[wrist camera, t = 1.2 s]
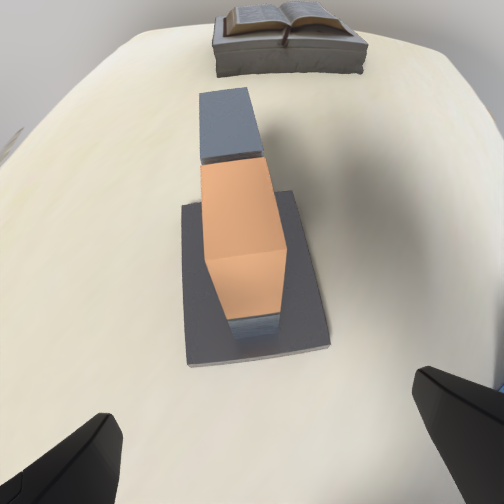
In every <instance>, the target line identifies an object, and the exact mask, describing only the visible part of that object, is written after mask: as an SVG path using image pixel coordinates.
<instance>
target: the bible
mask: <svg viewBox="0 0 504 504" xmlns="http://www.w3.org/2000/svg"><path fill="white" fill-rule="evenodd" d="M212 47H213V49H214V55H215V58H216V73H217V78H221V77H230V76H238V75H247V74H266V73H295V72H300V73H307V72H319V73H323V72H325V73H339V74H351V73H357V74H362V73H363V71H364V70H363V67H362V65H363V63H364V61H365V58H366V54H367V48H368V43H367V42H366V41H365V40H363V39H362V38H361V37H360V36H359V35H358V34H357V33H355V32H354V31H353V30H352V29H350V28H349V27H348V26H347V25H345V24H344V23H343V22H342V21H341V20H340V19H338V18H337V17H336V16H334V15H332V14H330V13H329V12H328V11H327V10H326V9H324V7H323V6H322V5H321V4H320V3H319V2H305V1H288V2H285V3H283V4H282V5H281V6H280V7H276V6H273V5H270V4H261V5H254V6H242V7H235V8H234V9H232V10H231V11H230V13H229V14H228V16H223V17H216V19H215V25H214V35H213V39H212Z"/></svg>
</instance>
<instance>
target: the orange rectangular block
mask: <svg viewBox="0 0 504 504" xmlns="http://www.w3.org/2000/svg"><path fill="white" fill-rule="evenodd" d="M200 170H201V198H202V220H203V239H204V256H205V262H206V265H207V268H208V271H209V273H210V276H211V279H212V281H213V284H214V287H215V289H216V292H217V295H218V297H219V300H220V303H221V305H222V308H223V310H224V313H225V316H226V318H227V321H232V320H239V319H247V318H254V317H261V316H268V315H275V314H280V310H281V301H282V292H283V283H284V274H285V264H286V254H287V247H286V242H285V238H284V233H283V229H282V225H281V220H280V216H279V212H278V207H277V203H276V199H275V195H274V191H273V186H272V182H271V178H270V174H269V170H268V166H267V162H266V158H265V157H261V158H252V159H244V160H237V161H229V162H222V163H215V164H208V165H202V166H200Z"/></svg>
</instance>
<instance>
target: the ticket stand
mask: <svg viewBox="0 0 504 504" xmlns="http://www.w3.org/2000/svg"><path fill="white" fill-rule="evenodd" d="M199 119H200V160H201V164H202V165H208V164H215V163H222V162H229V161H237V160H244V159H252V158H261V157H264V150H263V146H262V142H261V138H260V134H259V131H258V127H257V123H256V119H255V115H254V111H253V108H252V104H251V100H250V96H249V93H248V89H247V87H244V88H235V89H227V90H219V91H212V92H206V93H199ZM274 195H275V199H276V203H277V207H278V212H279V216H280V220H281V225H282V229H283V233H284V238H285V242H286V247H287V254H286V264H285V274H284V283H283V292H282V301H281V310H280V314H275V315H268V316H261V317H254V318H247V319H239V320H232V321H227V318H226V316H225V313H224V310H223V308H222V305H221V303H220V300H219V297H218V295H217V292H216V289H215V287H214V284H213V281H212V279H211V276H210V273H209V271H208V268H207V265H206V262H205V256H204V239H203V220H202V202H201V203H194V204H188V205H182V218H181V227H182V283H183V308H184V327H185V343H186V358H187V365H188V366H190V367H191V368H192V367H203V366H213V365H223V364H232V363H240V362H248V361H255V360H262V359H269V358H276V357H282V356H288V355H294V354H300V353H305V352H311V351H316V350H321V349H326V348H328V347H329V346H330V345H331V343H330V338H329V334H328V329H327V325H326V320H325V316H324V311H323V307H322V303H321V299H320V294H319V290H318V286H317V282H316V278H315V274H314V270H313V266H312V262H311V258H310V254H309V250H308V247H307V243H306V239H305V235H304V232H303V228H302V224H301V221H300V217H299V213H298V210H297V206H296V203H295V199H294V196H293V192H292V191H283V192H274Z"/></svg>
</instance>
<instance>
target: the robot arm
mask: <svg viewBox="0 0 504 504" xmlns="http://www.w3.org/2000/svg"><path fill="white" fill-rule="evenodd" d="M412 395H413V398H414V400H415V403H416V405H417V407H418V410H419V412H420V414H421V417H422V419H423V421H424V424H425V426H426V429H427V431H428V433H429V435H430V437H431V439H432V441H433V442H434V444H435V446H436V448H437V450H438V451H439V453H440V455H441V457H442V459H443V461H444V462H445V464H446V466H447V468H448V470H449V472H450V474H451V475H452V477H453V479H454V481H455V483H456V485H457V487H458V489H459V491H460V493H461V495H462V497H463V499H464V501H465V503H466V504H504V393H503V392H500V391H497V390H494V389H491V388H488V387H485V386H483V385H480V384H477V383H474V382H472V381H469V380H466V379H463V378H461V377H458V376H455V375H452V374H450V373H447V372H444V371H442V370H439V369H437V368H434V367H431V366H425V367H422V368H420V369H418V370H417V371H416V373H415V378H414V382H413V387H412ZM122 443H123V434H122V431H121V429H120V427H119V426H118V424H117V422H116V420H115V418H114V416H113V415H112V414H110V413H98V414H97V415H95V416H94V417H93V418H91V419H90V420H89V421H88V422H86V423H85V424H84V425H82V426H81V427H80V428H78V429H77V430H76V431H75V432H73V433H72V434H71V435H69V436H68V437H67V438H65V439H64V440H63V441H61V442H60V443H59V444H58V445H56V446H55V447H54V448H52V449H51V450H50V451H48V452H47V453H46V454H44V455H43V456H41V457H40V458H39V459H37V460H36V461H35V462H33V463H32V464H31V465H29V466H28V467H27V468H25V469H24V470H23V472H22V471H21V472H20V473H18V474H17V475H15V476H14V477H13V478H11V479H10V480H8V481H7V482H5V483H4V484H2V485H1V486H0V504H114V503H115V498H116V493H117V487H118V482H119V475H120V464H121V453H122Z"/></svg>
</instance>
